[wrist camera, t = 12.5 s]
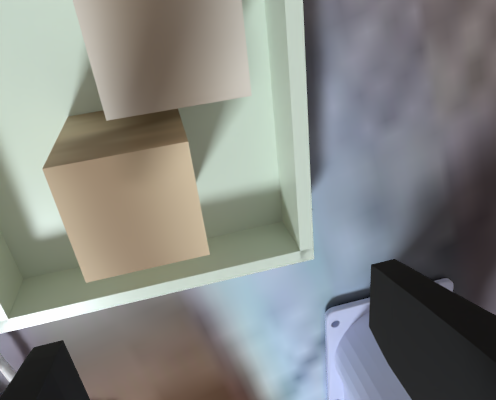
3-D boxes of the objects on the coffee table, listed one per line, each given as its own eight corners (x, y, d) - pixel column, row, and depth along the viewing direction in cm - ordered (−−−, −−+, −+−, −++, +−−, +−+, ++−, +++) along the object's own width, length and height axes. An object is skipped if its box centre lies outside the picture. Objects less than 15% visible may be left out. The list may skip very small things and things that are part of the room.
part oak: (174, 98, 16) (188, 141, 12) (192, 189, 18) (209, 254, 14) (68, 116, 16) (42, 168, 11) (98, 208, 18) (85, 283, 13)
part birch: (204, -58, 14) (234, -74, 10) (221, 64, 16) (251, 95, 12) (82, -44, 14) (57, -54, 9) (114, 81, 16) (106, 120, 11)
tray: (291, 223, 21) (313, 259, 18) (17, 284, 19) (-3, 334, 16) (254, -298, 12) (287, -374, 10) (-257, -281, 10) (-393, -370, 8)
